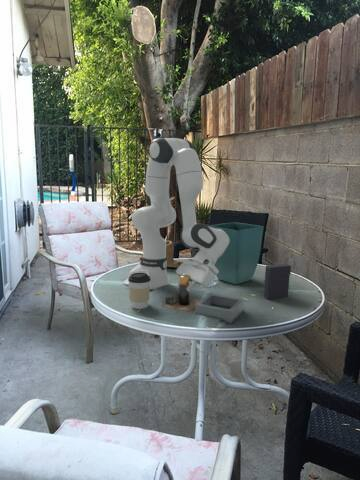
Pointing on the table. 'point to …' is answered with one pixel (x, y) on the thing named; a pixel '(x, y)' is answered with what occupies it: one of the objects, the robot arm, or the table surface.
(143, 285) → the coffee cup
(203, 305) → the bin
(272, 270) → the grey box
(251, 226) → the flower pot
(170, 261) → the wooden bookend
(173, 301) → the plate
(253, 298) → the table surface
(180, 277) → the battery cell
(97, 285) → the table surface
